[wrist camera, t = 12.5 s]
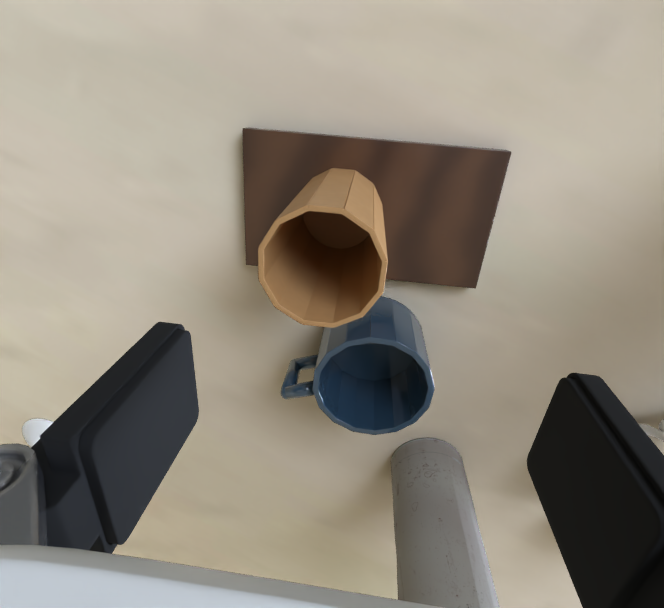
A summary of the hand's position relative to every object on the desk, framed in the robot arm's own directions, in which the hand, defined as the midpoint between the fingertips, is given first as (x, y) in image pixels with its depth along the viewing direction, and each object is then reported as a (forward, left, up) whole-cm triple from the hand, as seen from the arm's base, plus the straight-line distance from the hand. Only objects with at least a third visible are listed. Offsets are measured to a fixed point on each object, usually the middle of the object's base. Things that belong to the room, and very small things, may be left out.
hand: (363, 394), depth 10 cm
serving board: (0, +1, -25) cm, 25 cm away
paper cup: (+2, +1, -24) cm, 24 cm away
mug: (0, +14, -25) cm, 29 cm away
